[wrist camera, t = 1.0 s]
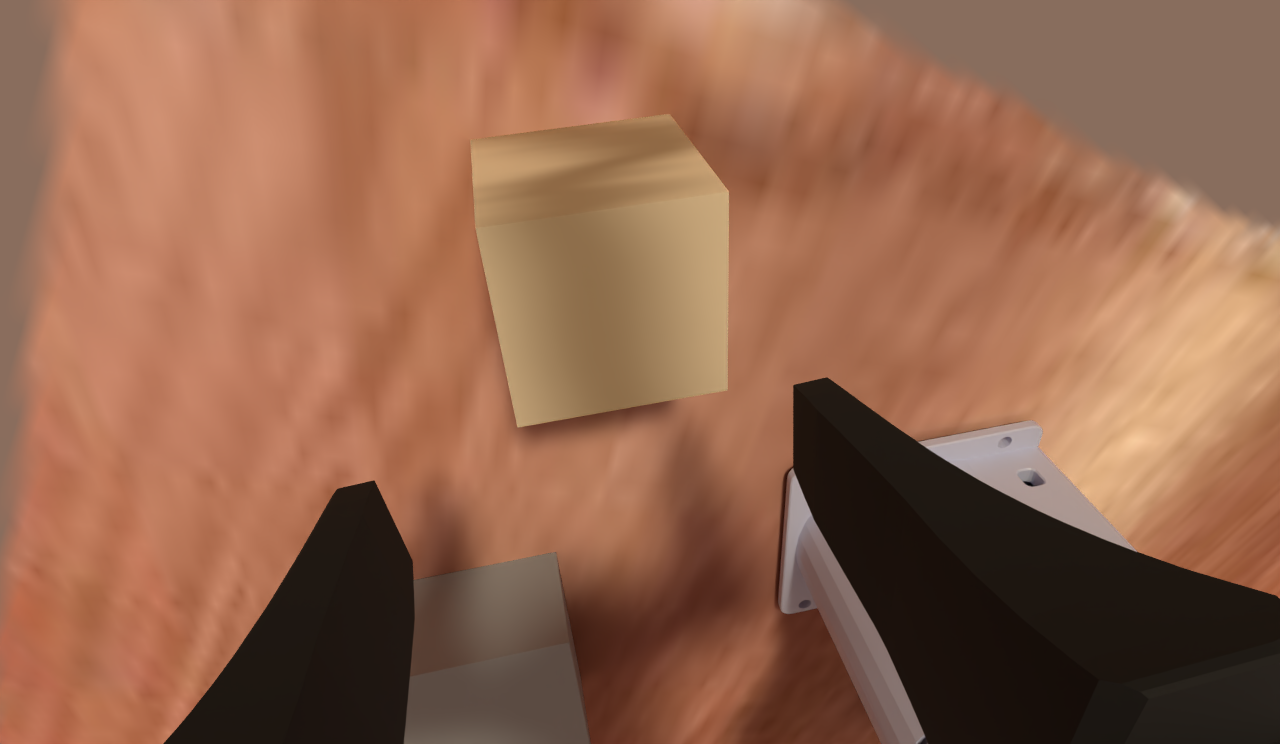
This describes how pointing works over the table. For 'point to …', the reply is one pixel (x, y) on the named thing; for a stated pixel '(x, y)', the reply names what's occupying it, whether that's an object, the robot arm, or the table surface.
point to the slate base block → (495, 658)
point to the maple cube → (603, 265)
